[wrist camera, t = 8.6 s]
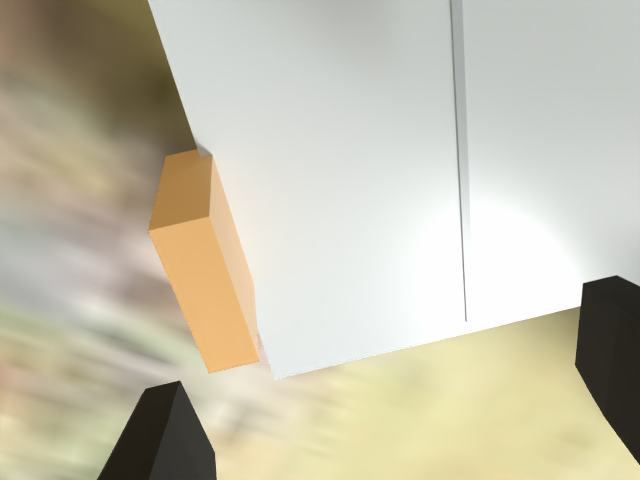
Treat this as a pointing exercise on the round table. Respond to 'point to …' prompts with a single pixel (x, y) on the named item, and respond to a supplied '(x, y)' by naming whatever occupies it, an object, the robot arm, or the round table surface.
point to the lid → (394, 169)
